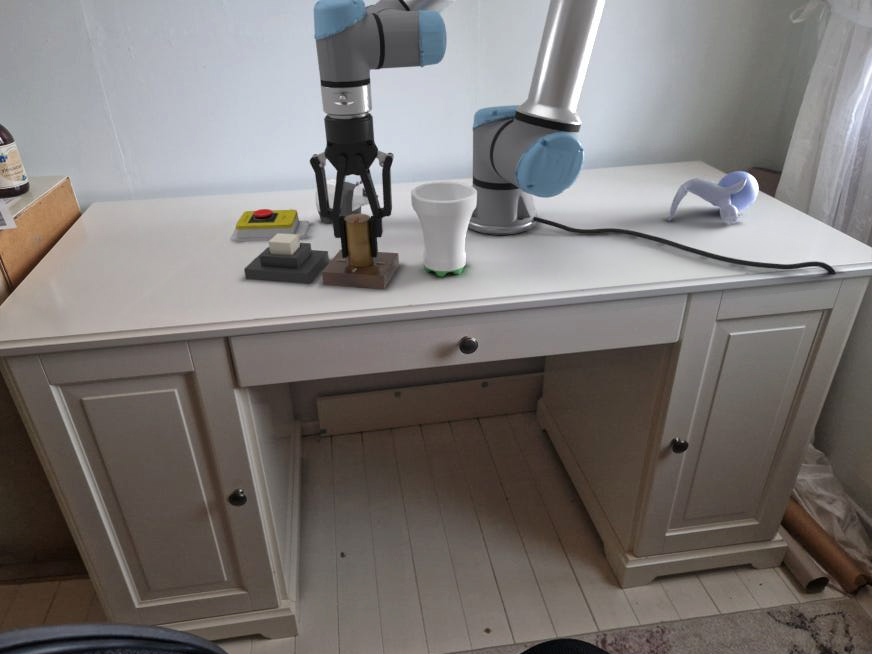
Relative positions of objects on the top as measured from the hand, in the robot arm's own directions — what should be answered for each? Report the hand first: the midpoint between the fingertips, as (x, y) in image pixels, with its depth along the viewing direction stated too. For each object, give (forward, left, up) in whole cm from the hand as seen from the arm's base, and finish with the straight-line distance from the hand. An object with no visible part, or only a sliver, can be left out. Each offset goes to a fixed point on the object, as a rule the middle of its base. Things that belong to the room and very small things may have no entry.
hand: (360, 254), depth 109 cm
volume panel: (0, 0, -4) cm, 4 cm away
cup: (-14, -5, -4) cm, 15 cm away
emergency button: (+25, -17, -4) cm, 31 cm away
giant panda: (+11, -25, -4) cm, 28 cm away
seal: (-65, -40, -4) cm, 76 cm away
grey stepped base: (+14, 0, -4) cm, 15 cm away
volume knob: (0, 0, -1) cm, 1 cm away
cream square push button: (+14, 0, 0) cm, 14 cm away
